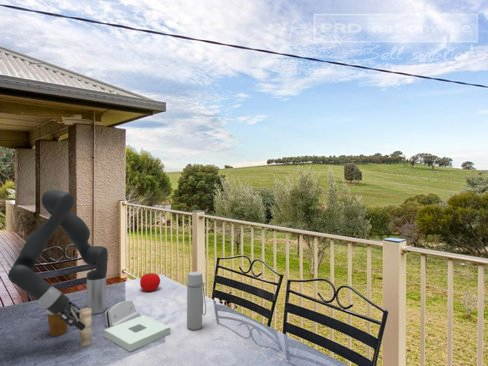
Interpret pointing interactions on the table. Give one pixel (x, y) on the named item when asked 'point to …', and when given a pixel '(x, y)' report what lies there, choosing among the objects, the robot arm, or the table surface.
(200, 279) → the water bottle
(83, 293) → the table surface
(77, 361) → the table surface
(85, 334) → the birch pin
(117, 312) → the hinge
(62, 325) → the disposable coffee cup
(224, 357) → the table surface
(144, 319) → the collar block
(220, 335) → the table surface
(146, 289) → the tomato
